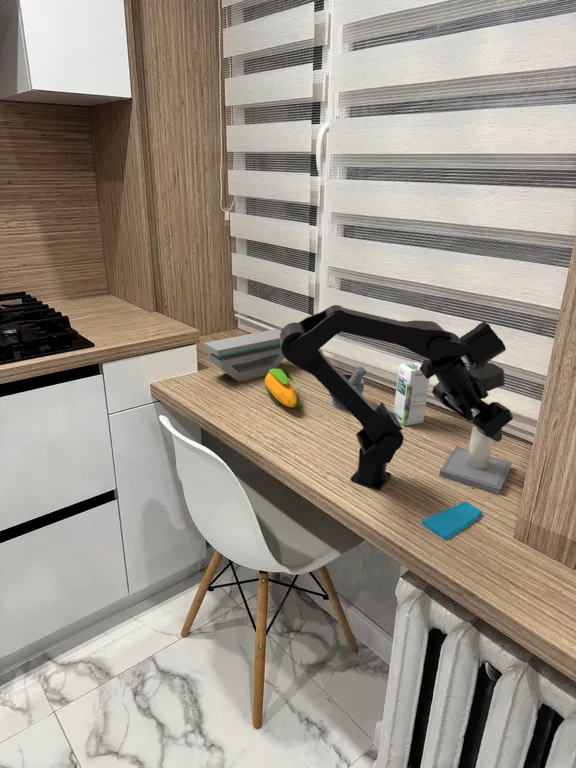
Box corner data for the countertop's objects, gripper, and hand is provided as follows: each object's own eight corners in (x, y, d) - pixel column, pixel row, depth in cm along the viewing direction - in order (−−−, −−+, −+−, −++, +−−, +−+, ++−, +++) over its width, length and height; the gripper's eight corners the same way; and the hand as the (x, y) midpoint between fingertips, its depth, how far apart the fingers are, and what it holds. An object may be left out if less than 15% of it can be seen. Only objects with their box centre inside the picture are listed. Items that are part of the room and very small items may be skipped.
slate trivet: (498, 494, 105) (499, 489, 104) (439, 475, 111) (440, 470, 110) (510, 467, 114) (511, 462, 114) (455, 451, 120) (456, 446, 120)
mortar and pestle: (318, 402, 142) (320, 360, 138) (342, 393, 148) (345, 353, 143) (348, 417, 135) (352, 373, 130) (373, 407, 140) (377, 365, 136)
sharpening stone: (275, 361, 170) (276, 329, 165) (289, 369, 164) (290, 335, 160) (205, 377, 156) (204, 342, 152) (218, 386, 150) (217, 350, 146)
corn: (284, 360, 150) (309, 387, 132) (285, 384, 153) (310, 414, 135) (259, 364, 148) (281, 392, 130) (260, 388, 151) (282, 419, 133)
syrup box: (391, 416, 136) (397, 363, 130) (411, 413, 138) (418, 361, 132) (404, 426, 131) (410, 372, 125) (424, 423, 133) (432, 369, 127)
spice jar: (484, 472, 110) (492, 427, 106) (463, 464, 112) (470, 421, 108) (491, 463, 113) (499, 419, 109) (471, 456, 116) (478, 413, 111)
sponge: (491, 517, 97) (467, 497, 101) (444, 538, 91) (421, 517, 96) (489, 523, 98) (465, 504, 102) (442, 545, 92) (419, 523, 96)
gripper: (520, 369, 94) (548, 425, 101) (459, 336, 110) (487, 387, 117) (471, 409, 94) (502, 462, 101) (417, 370, 110) (448, 418, 118)
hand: (485, 429), depth 109 cm, fingers open, 9 cm apart
